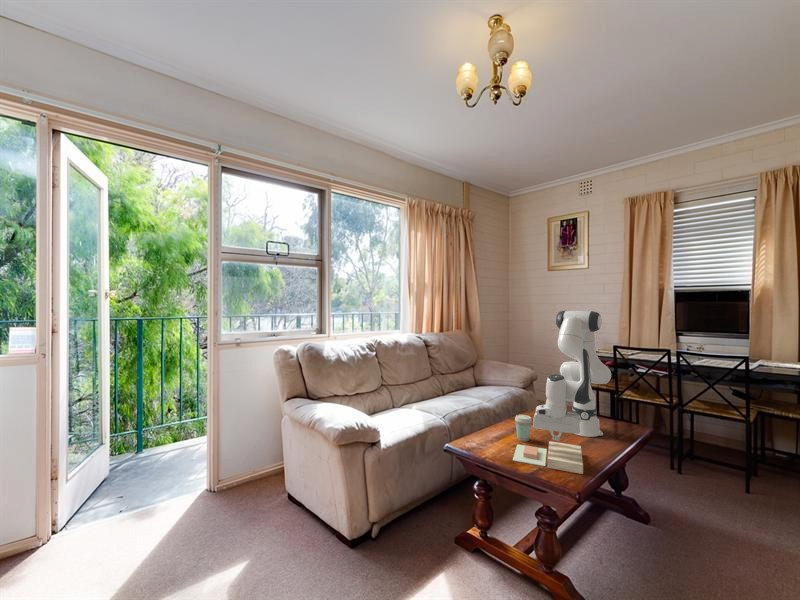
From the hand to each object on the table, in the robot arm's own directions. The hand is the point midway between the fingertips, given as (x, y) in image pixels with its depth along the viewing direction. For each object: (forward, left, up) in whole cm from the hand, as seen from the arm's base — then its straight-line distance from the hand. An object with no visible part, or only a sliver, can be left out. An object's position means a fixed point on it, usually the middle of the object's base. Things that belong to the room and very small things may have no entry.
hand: (555, 439), depth 172 cm
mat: (+1, -11, -9) cm, 14 cm away
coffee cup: (-18, -16, -9) cm, 26 cm away
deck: (+1, +4, -9) cm, 10 cm away
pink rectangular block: (+1, -11, -6) cm, 13 cm away
